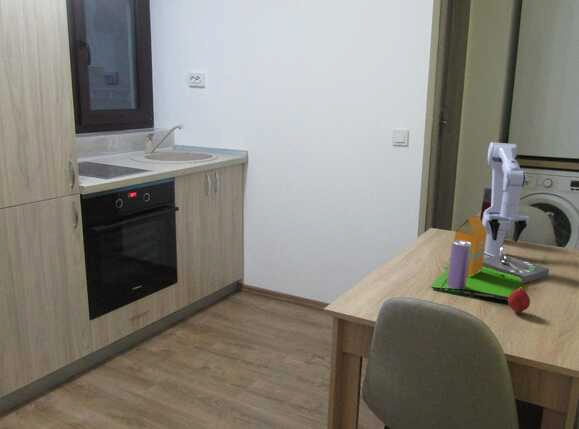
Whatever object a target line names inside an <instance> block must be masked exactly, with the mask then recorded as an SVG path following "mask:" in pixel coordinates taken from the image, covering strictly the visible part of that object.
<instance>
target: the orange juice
mask: <svg viewBox="0 0 579 429" xmlns="http://www.w3.org/2000/svg"><path fill="white" fill-rule="evenodd" d="M486 237H487V232H486V230H485V228H484V226H483V223H482V221H481V219H480V215H479V214H477V215H475V216H472V217H469V218H467V219H466V220H465V221H464V222H463V223H462V224H461V225H460V226H459V227H458V228H457V229H456V231H455V234H454V240H463V241H467V242H470V243H471V247H472V248H471V255H470V262H469V269H468V275H472V274H474V273H476V272H478V271H479V270H481V269H482V263H483V258H485V257H484V256H485V254H484V251H485V243H486ZM482 270H483V269H482ZM482 270H481V271H482Z"/></svg>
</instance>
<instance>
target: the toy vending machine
mask: <svg viewBox="0 0 579 429" xmlns="http://www.w3.org/2000/svg"><path fill="white" fill-rule="evenodd" d="M482 195H483V196H482V202H481V209H480V215H479V217H480V219H481V221H482V219H483V213H484V211H485V210H486V209H488V208H490V207H491V196H492V184H490V183H489V184H487V185H486V186H485V187H484V190H483V194H482Z"/></svg>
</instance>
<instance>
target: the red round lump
mask: <svg viewBox="0 0 579 429" xmlns="http://www.w3.org/2000/svg"><path fill="white" fill-rule="evenodd" d="M507 302H508V306H509V308H510V309H511V310H513V311H514V313H515V314H519V313H522V312H524V311H526V310H527V309H528V308H529V307H530V306H531V305H530V304H531V299H530V296H529V294H528V293H527V292H526V291H525V290H524V287H522V286H520V287H519V288H517V289H514V290H513V291H512V292H511V293H510V294H509V295H508V298H507Z"/></svg>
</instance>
